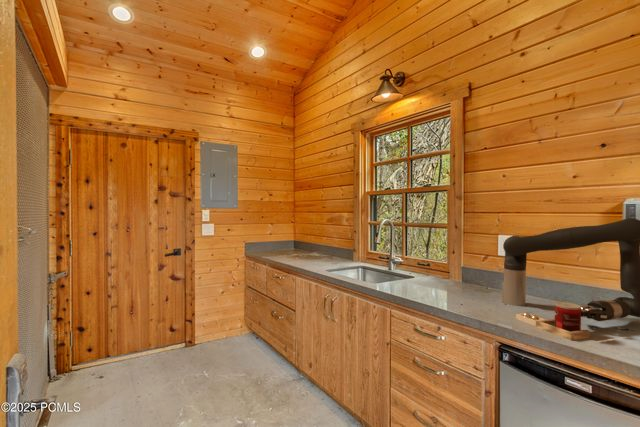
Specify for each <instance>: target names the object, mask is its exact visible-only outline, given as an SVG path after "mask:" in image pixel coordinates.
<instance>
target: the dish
mask: <svg viewBox="0 0 640 427" xmlns="http://www.w3.org/2000/svg"><path fill="white" fill-rule="evenodd" d="M529 314H530V313H529ZM530 315H531V317H532V316H533V314H530ZM538 317H539V316H538ZM515 319H516V320H519V321H521V322H524V323H527V324H530V325H533V326H535V327H536V321H541V320H547V319H545V318H542V317H539V319H540V320H533V319H530V318H527V317H525V316H523V313H516V314H515Z"/></svg>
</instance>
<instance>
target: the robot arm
mask: <svg viewBox="0 0 640 427" xmlns="http://www.w3.org/2000/svg"><path fill="white" fill-rule="evenodd" d="M608 242H609V243H610V242H617V243H618V247H619V259H620V261H619V262H620V263H619V267H620V268H619V273H620V274H619V277H620V278H619V280H620V284H619V285H620V289H621V290H622V291H623V292H626V293H628V294H630V295H631V296H632V297H628V296H627V297H625V296H623V297H622V296H620V297H617V298H614V299H610V300H609V299H603V300H601V299H600V300H593V301H589V302H588V303H587V304H585V305H580V306H581V318H587V319H589V320H594V321H596V322H606V321H613V320H616V319H623V318H627V317H629V316H630V317H637V318H640V219H637V218H632V217H631V218H624V219H622V220H618V221H614V222H609V223H604V224H599V225H584V226H583V225H582V226H572V227H571V226H570V227H566V228H560V229H554V230H551V231H547V232H542V233H539V234H535V235H526V236H525V235H524V236H520V235H511V236H510V237H508V238H506V239H505V241H503V244H502V245H503V246H502V247H503V250H504V263H503V264H504V265H503V282H502V283H501V303H503V304H504V305H508V306H515V307H524V306H526V305H527V304H526V301H527V299H526V298H527V297H526V296H527V294H526V292H527V290H526V289H527V254H530V253H536V252H542V251H560V250H570V249H577V248H583V247H588V246H593V245H598V244H601V243H603V244H604V243H608Z"/></svg>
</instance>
